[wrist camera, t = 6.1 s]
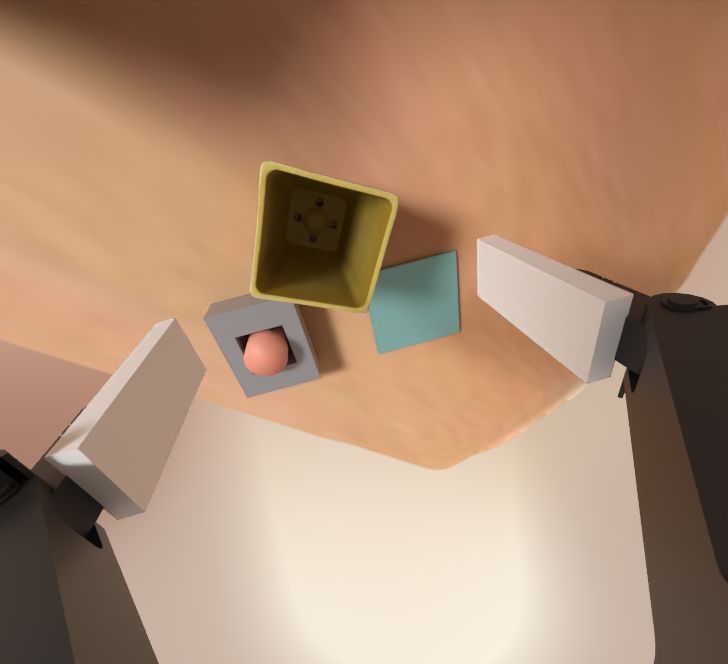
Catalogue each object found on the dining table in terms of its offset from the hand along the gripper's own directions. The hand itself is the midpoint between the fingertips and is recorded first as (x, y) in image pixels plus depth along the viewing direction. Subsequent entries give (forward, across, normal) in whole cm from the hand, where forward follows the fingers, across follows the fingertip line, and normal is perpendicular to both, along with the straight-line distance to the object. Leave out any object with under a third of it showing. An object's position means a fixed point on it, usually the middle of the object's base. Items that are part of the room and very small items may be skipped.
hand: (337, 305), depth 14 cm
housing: (+18, -8, -10) cm, 22 cm away
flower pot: (+18, 0, 0) cm, 18 cm away
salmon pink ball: (+17, -8, -10) cm, 21 cm away
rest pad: (+18, +8, -11) cm, 22 cm away
